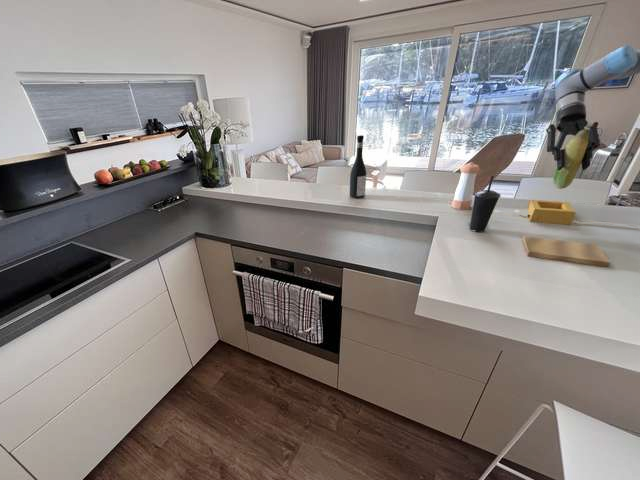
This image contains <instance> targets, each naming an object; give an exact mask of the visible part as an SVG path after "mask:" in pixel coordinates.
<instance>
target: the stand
mask: <svg viewBox="0 0 640 480" xmlns="http://www.w3.org/2000/svg"><path fill="white" fill-rule="evenodd" d="M526 208H527V211H528V213H529V214H527V218H528V220H529V222H532V223H534V222H535V223H543V224H554V225H564V226H565V225H567V226H570V225H571V223H572V221H573V219H574V217H575V214H576V211H575V209H574V208H573V207H572V206H571V204H570V203H569V201H558V200H541V199H529V202H528V204H527V207H526Z"/></svg>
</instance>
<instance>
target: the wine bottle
mask: <svg viewBox="0 0 640 480" xmlns="http://www.w3.org/2000/svg"><path fill="white" fill-rule="evenodd" d="M364 137H365V136H364V135H357V136H356V155H355V160H354V163H353V165H352V166H351V167H352V168H351V170H350V173H349V197H350V198H352V199H361V198H364V197H365V196H366V185H367V169H366V165H365V161H364V159H363V145H364Z"/></svg>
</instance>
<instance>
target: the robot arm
mask: <svg viewBox="0 0 640 480" xmlns="http://www.w3.org/2000/svg"><path fill="white" fill-rule="evenodd" d="M639 74H640V48H639V49H635V48H634V47H633V46H631V45H629V44H626V45H625V44H624V45H622V46H621V47H619V48H617V49H615V50H613V51H611V52H609V53H608V54H607V55H605V56H603V57H601V58H600V59H598V60H597V61H595V62H593V63H592V64H590V65H588V66H586V67H585V68H583V69H581V68H572V69H571V70H567V71H565V72H563V73H562V74H560V75H559V76H558V77H557V79H556V81H555V86H554V87H555V88H554V94H555V95H554V96H555V115H556V116H555V119H556V124H553V123H550V125H548V127H547V128H546V129H545V131H546V133H547V139H546V152H547V153H551V155H552V156H553V160H554V161H555V162H556V166H557V170H561V169H562V168H563V167H564V166H565V161H564V149H565V148H563V145H564V142H565V140H566V137H567V136H573V137H574V136H575V135H576V134H577V133H578V132H579V131H581V130H583V129H586V130H588V131H589V133H588V144H587V148H586V150H585V154H584V157H583V160H582V162H581V171H585V170H586V169H588V168H589V167H590V166H591V159H593V156H594V155H593V154H594V153H593V152H594V151H596V150H597V149H598V148H600V146H601V144H600V137H599V131H598V125H599V122H598V121H594V122H588V121H587V107H586V106H587V103H586V93H587V92H588V91H590V90H592V89H594V88H596V87H597V86H600V85H601V84H604V83H606V82H608V81H612V80H623V79H627V78H630V77H632V76H635V75H639ZM557 131H558V132H559V135H558V138H557V141H556V134H557Z"/></svg>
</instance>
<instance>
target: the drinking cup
mask: <svg viewBox="0 0 640 480" xmlns="http://www.w3.org/2000/svg"><path fill="white" fill-rule="evenodd" d="M490 176H491V177H490V180H489V183H488V187H487V189H481V190H478V191H475V192H474V193H473V195H474V199H473V205H472V210H471V211H472V212H471V217H470V223H469V230H470V229H471V230H475V231H484V230H485V231H486V228H487V226H488V224H489V221H490V219H491V217H492V215H493V212H494V210H495V208H496V206H497V203H498V201H499V198H501V193H499V192H497V191H495V190H492V189H491V187H492V184H493V180H494V177H495V175H490ZM471 230H470V231H471ZM485 231H484V232H485Z"/></svg>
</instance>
